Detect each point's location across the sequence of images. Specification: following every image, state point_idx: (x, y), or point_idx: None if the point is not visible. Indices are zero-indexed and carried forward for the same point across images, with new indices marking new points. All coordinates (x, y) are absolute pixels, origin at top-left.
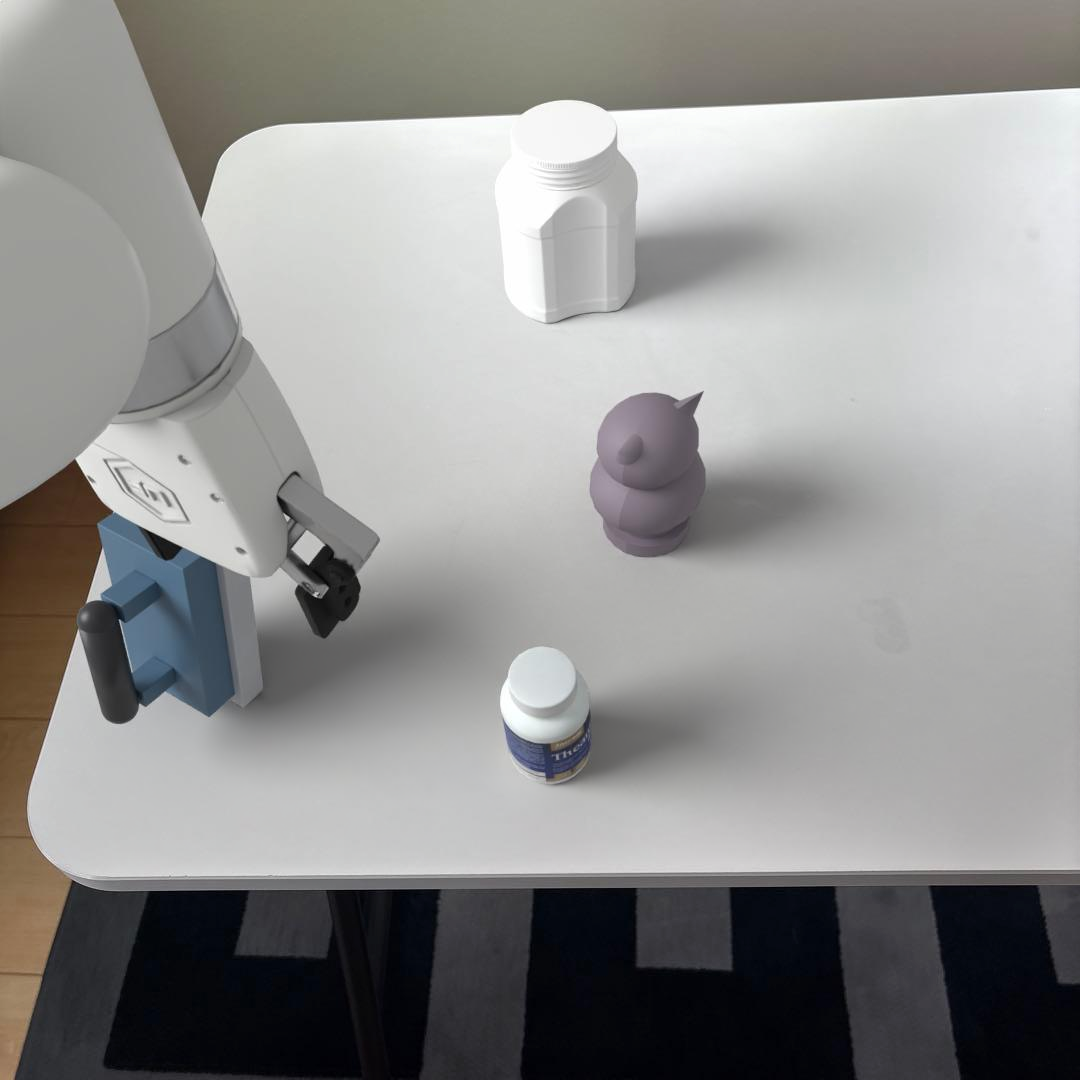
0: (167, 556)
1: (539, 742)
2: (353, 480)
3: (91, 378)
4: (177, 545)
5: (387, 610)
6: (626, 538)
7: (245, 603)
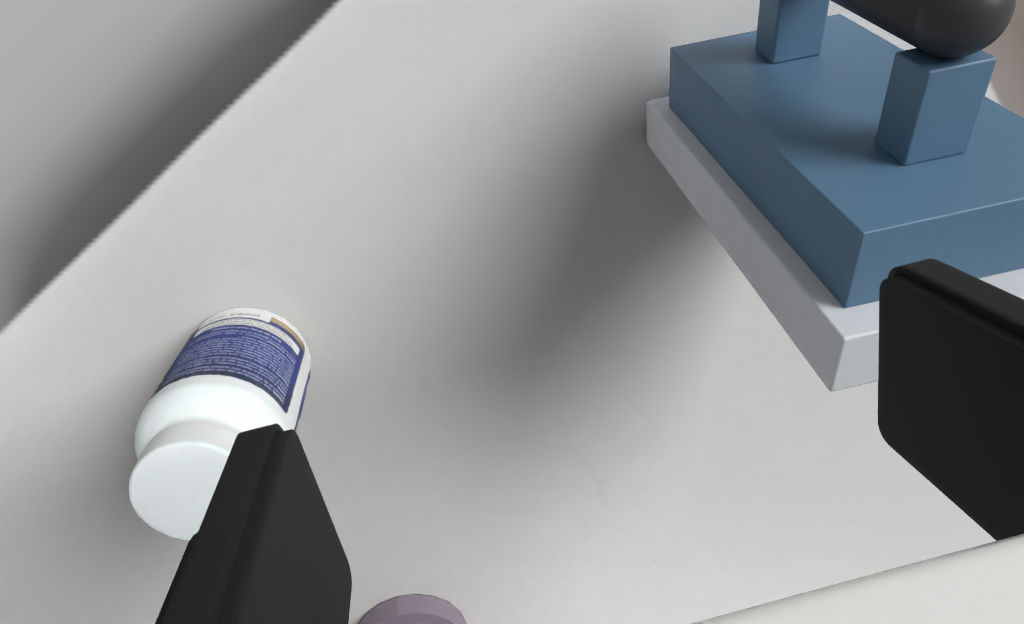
0: (899, 286)
1: (161, 390)
2: (774, 445)
3: None
4: (897, 331)
5: (590, 348)
6: (402, 618)
7: (732, 243)
